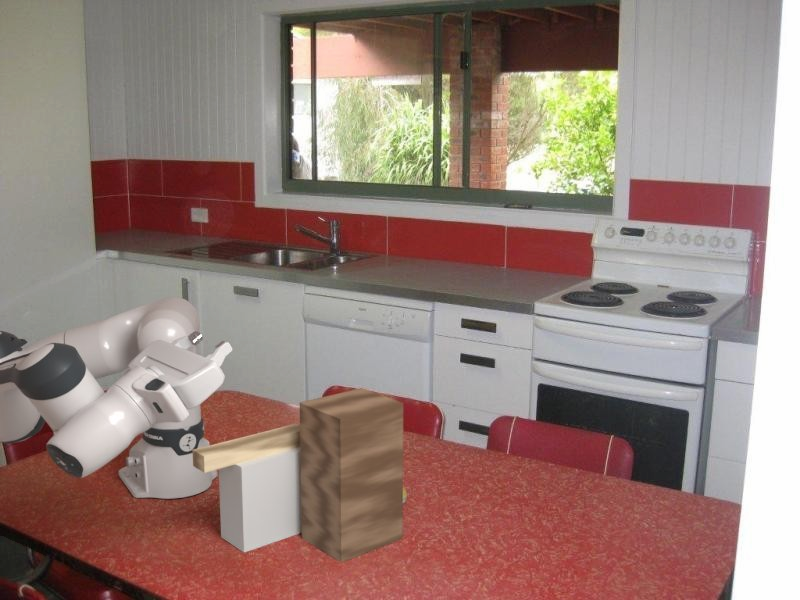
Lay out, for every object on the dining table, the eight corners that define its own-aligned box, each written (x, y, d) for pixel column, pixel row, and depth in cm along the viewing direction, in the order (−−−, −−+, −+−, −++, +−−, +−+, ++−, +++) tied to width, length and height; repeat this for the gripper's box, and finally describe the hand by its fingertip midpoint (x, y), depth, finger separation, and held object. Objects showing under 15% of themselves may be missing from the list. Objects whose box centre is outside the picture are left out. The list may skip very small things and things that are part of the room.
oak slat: (193, 466, 161) (192, 449, 161) (297, 438, 175) (297, 423, 175) (204, 472, 158) (203, 456, 158) (309, 443, 172) (309, 428, 172)
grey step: (221, 537, 170) (218, 454, 167) (289, 514, 179) (287, 436, 176) (244, 552, 164) (241, 467, 161) (313, 528, 174) (312, 447, 170)
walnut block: (301, 538, 169) (299, 402, 164) (361, 517, 178) (361, 388, 173) (341, 562, 161) (340, 419, 155) (402, 539, 170) (403, 403, 164)
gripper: (128, 393, 153) (191, 342, 159) (187, 425, 138) (255, 366, 144) (107, 365, 150) (173, 313, 156) (166, 393, 134) (236, 335, 141)
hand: (213, 339), depth 150 cm, fingers open, 8 cm apart
